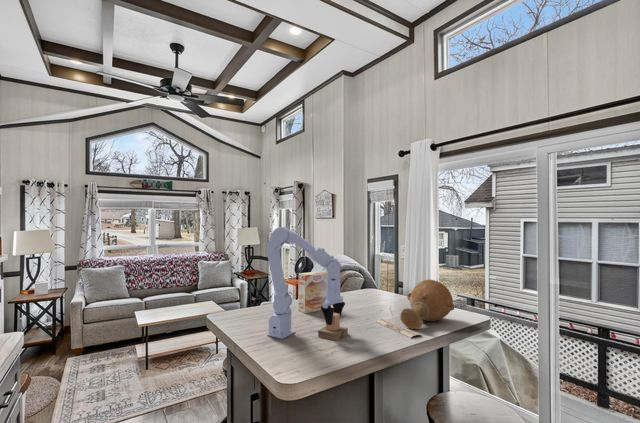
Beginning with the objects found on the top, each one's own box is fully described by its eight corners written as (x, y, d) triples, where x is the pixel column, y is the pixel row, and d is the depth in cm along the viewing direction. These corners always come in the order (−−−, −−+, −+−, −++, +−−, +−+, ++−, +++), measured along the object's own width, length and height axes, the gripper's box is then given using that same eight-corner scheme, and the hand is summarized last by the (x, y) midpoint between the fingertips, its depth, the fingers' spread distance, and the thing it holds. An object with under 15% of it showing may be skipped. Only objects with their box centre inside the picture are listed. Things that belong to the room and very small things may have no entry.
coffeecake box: (304, 313, 165) (305, 274, 166) (297, 310, 171) (297, 273, 171) (328, 309, 174) (328, 272, 174) (320, 306, 179) (320, 270, 180)
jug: (466, 296, 154) (443, 317, 132) (443, 322, 163) (418, 346, 140) (432, 268, 164) (405, 283, 141) (412, 294, 172) (384, 312, 150)
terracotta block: (334, 330, 131) (335, 315, 132) (326, 329, 133) (326, 314, 134) (339, 328, 135) (339, 313, 135) (331, 326, 137) (331, 312, 137)
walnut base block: (338, 342, 128) (338, 334, 128) (318, 338, 132) (318, 330, 132) (347, 335, 135) (347, 327, 135) (328, 331, 140) (328, 324, 140)
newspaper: (422, 338, 133) (422, 333, 133) (408, 340, 130) (408, 336, 130) (386, 322, 155) (386, 318, 155) (374, 323, 151) (374, 320, 152)
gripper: (333, 293, 126) (333, 328, 126) (349, 286, 139) (349, 319, 138) (318, 291, 129) (317, 325, 129) (334, 285, 142) (334, 316, 142)
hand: (333, 322), depth 134 cm, fingers open, 7 cm apart
